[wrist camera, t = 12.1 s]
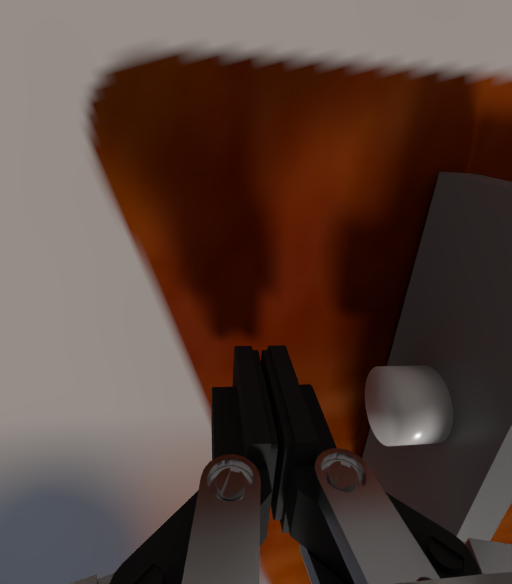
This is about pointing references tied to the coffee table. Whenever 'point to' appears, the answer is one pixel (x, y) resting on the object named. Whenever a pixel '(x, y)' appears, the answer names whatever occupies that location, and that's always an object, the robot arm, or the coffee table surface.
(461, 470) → the drawer
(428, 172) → the coffee table surface
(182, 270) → the coffee table surface
